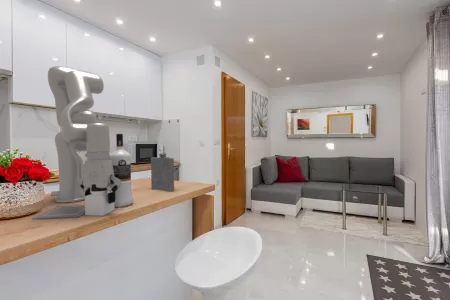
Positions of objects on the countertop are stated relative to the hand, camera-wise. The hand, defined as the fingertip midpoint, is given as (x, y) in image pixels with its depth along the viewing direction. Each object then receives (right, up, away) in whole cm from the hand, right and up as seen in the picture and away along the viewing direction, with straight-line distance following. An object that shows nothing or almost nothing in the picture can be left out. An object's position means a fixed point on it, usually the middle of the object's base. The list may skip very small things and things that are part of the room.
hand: (100, 202), depth 86 cm
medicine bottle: (0, -4, 0) cm, 4 cm away
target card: (-13, -4, +2) cm, 14 cm away
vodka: (+3, -4, +11) cm, 12 cm away
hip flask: (+13, -3, +40) cm, 42 cm away
